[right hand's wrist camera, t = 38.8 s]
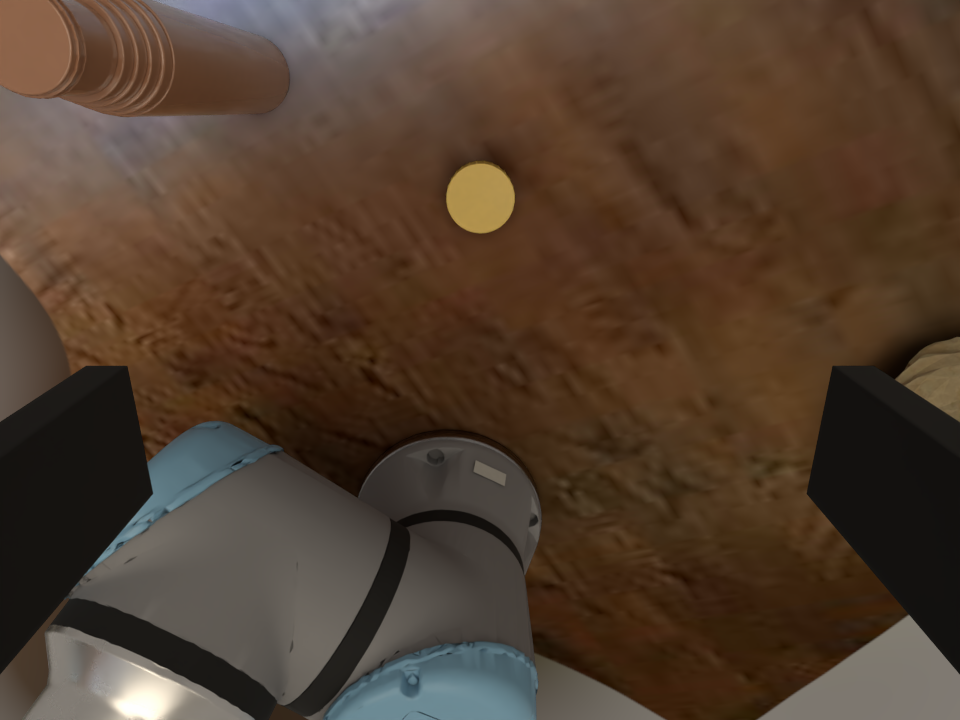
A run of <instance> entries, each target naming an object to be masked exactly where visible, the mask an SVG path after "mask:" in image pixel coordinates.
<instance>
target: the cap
mask: <svg viewBox="0 0 960 720" xmlns="http://www.w3.org/2000/svg"><path fill="white" fill-rule="evenodd" d="M447 187H448V189H447V192H446V203H447V208H448V211H449V213H450V215H451V217H452V218H453V220H454V221H455V222H456V223H457V224H458V225H459V226H460V227H462V228H463V229H465V230H467V231H470V232H473V233H488V232H491V231H494V230H496V229H498V228H499V227H501V226H502V225H503V224H504V223H505V222H506V221H507V220H508V218H509V217H510V215H511V213H512V211H513V207H514V203H515V192H514V189H513V187H514V186H513V184H512V183H511V181H510V177H509V176H507V174H506V173H505V170H502V169H501V168H500V167H499V165H498V166H497V165H495V164H493V163H492V162H487V161H485V160H484V161H477V160H476V161H474V162H469V163H468V164H466V165H464V166H463V165H462V167H461V168H460V169H459V170H458V171H457V170H456V172H455V174H454V176H452V177H451V181H450V183H449V184H448V186H447Z"/></svg>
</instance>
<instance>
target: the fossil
mask: <svg viewBox="0 0 960 720" xmlns="http://www.w3.org/2000/svg"><path fill="white" fill-rule="evenodd" d="M895 380H896V381H898V382H899V383H901V384H902V385H904V386H905V387H907V388H908V389H910V390H912V391H913V392H915V393H916V394H918V395H919V396H921V397H922V398H924V399H925V400H927V401H928V402H930V403H931V404H933V405H934V406H936V407H938V408H939V409H941V410H942V411H944V412H945V413H947V414H948V415H950V416H951V417H953V418H954V419H956V420H957V421H959V422H960V337H955V338H953V339H951V340H946V341H940V342H935V343H933V344H931V345H928V346H926V347H925V348H923V349H922V350H920V351H919V352H918V353H917V354H916V355H915V356H914V357H913V358H912V359H911V360H910V361H909V363H908V364H907V366H906V368H905V370H904V371H903V372H902V373H901V374H900V375H899V376H898V377H897V378H896V379H895Z"/></svg>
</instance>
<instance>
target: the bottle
mask: <svg viewBox="0 0 960 720" xmlns="http://www.w3.org/2000/svg"><path fill="white" fill-rule="evenodd" d="M289 80H290V79H289V69H288V66H287V63H286V60H285V58H284V56H283V55H282V53H281V52H280V50H279V49H278V48H277V47H276V46H275V45H274V44H273V43H272V42H270V41H269V40H268V39H266V38H264V37H262V36H259V35H256V34H253V33H250V32H247V31H244V30H241V29H238V28H235V27H232V26H229V25H226V24H222V23H219V22H216V21H213V20H210V19H207V18H204V17H201V16H198V15H195V14H192V13H189V12H186V11H183V10H180V9H177V8H174V7H171V6H168V5H165V4H162V3H159V2H156V1H153V0H0V85H1V86H3V87H5V88H6V89H9V90H11V91H12V92H15V93H17V94H20V95H23V96H25V97H31V98H39V99H41V98H45V99H49V98H56V97H60V98H62V99H64V100H67V101H70V102H73V103H75V104H78V105H81V106H84V107H86V108H89V109H92V110H95V111H97V112H100V113H104V114H109V115H114V116H119V117H149V116H192V115H234V114H262V113H267V112H269V111H271V110H273V109H275V108H276V107H277V106H279V105H280V103H281V102H282V101H283V100H284V98H285V96H286V94H287V91H288V88H289Z"/></svg>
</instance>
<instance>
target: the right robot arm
mask: <svg viewBox="0 0 960 720" xmlns="http://www.w3.org/2000/svg"><path fill="white" fill-rule="evenodd" d="M807 495H808V496H809V497H810V498H811V499H812V501H813V502H814V503H815V504H816V505H817V507H818V508H819V509H820V510H821V511H822V512H823V514H824V515H825V516H826V517H827V518H828V519H829V521H830V522H831V523H832V524H833V525H834V527H835V528H836V529H837V530H838V531H839V532H840V534H841V535H842V536H843V537H844V538H845V540H846V541H847V542H848V543H849V544H850V545H851V547H852V548H853V549H854V550H855V551H856V552H857V554H858V555H859V556H860V557H861V558H862V560H863V561H864V562H865V563H866V564H867V565H868V567H869V568H870V569H871V570H872V571H873V573H874V574H875V575H876V576H877V577H878V578H879V580H880V581H881V582H882V583H883V584H884V585H885V587H886V588H887V589H888V590H889V591H890V593H891V594H892V595H893V596H894V597H895V598H896V600H897V601H898V602H899V603H900V604H901V606H902V607H903V608H904V609H905V610H906V611H907V613H908V614H909V615H910V616H911V617H912V618H913V620H914V621H915V622H916V623H917V624H918V626H919V627H920V628H921V629H922V630H923V631H924V633H925V634H926V635H927V636H928V637H929V639H930V640H931V641H932V642H933V643H934V644H935V646H936V647H937V648H938V649H939V650H940V651H941V653H942V654H943V655H944V656H945V657H946V659H947V660H948V661H949V662H950V663H951V664H952V666H953V667H954V668H955V669H956V670H957V672H958V673H959V674H960V422H959V421H957V420H956V419H954V418H953V417H951V416H950V415H948V414H947V413H945V412H944V411H942V410H941V409H939V408H938V407H936V406H934V405H933V404H931V403H930V402H928V401H927V400H925V399H924V398H922V397H921V396H919V395H918V394H916V393H915V392H913V391H912V390H910V389H908V388H907V387H905V386H904V385H902V384H901V383H899V382H898V381H896V380H895V379H893V378H892V377H890V376H889V375H887V374H885V373H884V372H882V371H881V370H879V369H878V368H876V367H875V366H833V367H832V372H831V377H830V382H829V387H828V391H827V396H826V401H825V406H824V411H823V416H822V421H821V426H820V431H819V436H818V441H817V445H816V450H815V455H814V460H813V465H812V470H811V475H810V480H809V485H808V490H807ZM540 530H541V508H540V501H539V495H538V491H537V488H536V485H535V483H534V480H533V478H532V476H531V475H530V473H529V471H528V470H527V468H526V467H525V465H524V464H523V463H522V462H521V461H520V460H519V459H518V458H517V457H516V456H515V455H514V454H513V453H512V452H511V451H509V450H508V449H507V448H505V447H504V446H502V445H500V444H499V443H497V442H495V441H493V440H491V439H489V438H486V437H484V436H481V435H477V434H474V433H469V432H464V431H456V430H441V431H432V432H426V433H422V434H418V435H415V436H412V437H409V438H407V439H405V440H403V441H401V442H399V443H397V444H396V445H394V446H392V447H391V448H390V449H388V450H387V451H386V452H385V453H383V454H382V455H381V456H380V457H379V458H378V459H377V460H376V462H375V463H374V464H373V465H372V467H371V468H370V470H369V471H368V473H367V475H366V477H365V479H364V481H363V484H362V487H361V490H360V493H359V497H358V498H357V497H355V496H354V495H352V494H350V493H349V492H347V491H346V490H344V489H342V488H341V487H339V486H338V485H336V484H334V483H333V482H331V481H330V480H328V479H326V478H325V477H323V476H322V475H320V474H318V473H317V472H315V471H313V470H312V469H310V468H309V467H307V466H305V465H304V464H302V463H301V462H299V461H297V460H296V459H294V458H293V457H291V456H289V455H288V454H286V453H285V452H284V449H283V448H282V447H280V446H278V445H269V444H267V443H265V442H263V441H262V440H260V439H258V438H256V437H254V436H252V435H251V434H249V433H247V432H245V431H243V430H241V429H240V428H238V427H236V426H234V425H232V424H230V423H226V422H222V421H209V422H205V423H201V424H199V425H196V426H194V427H192V428H190V429H189V430H187V431H185V432H184V433H182V434H181V435H180V436H178V437H177V438H176V439H174V440H173V441H172V442H170V443H169V444H168V445H167V446H166V447H164V448H163V449H162V450H161V451H160V452H159V453H158V454H156V455H155V456H154V457H153V458H152V459H151V460H150V461H149V462H148V463H147V460H146V455H145V450H144V445H143V441H142V436H141V431H140V426H139V421H138V416H137V411H136V406H135V401H134V396H133V391H132V387H131V382H130V377H129V372H128V367H127V366H85V367H84V368H82V369H81V370H79V371H78V372H76V373H75V374H73V375H71V376H70V377H68V378H67V379H65V380H64V381H62V382H61V383H59V384H58V385H56V386H55V387H53V388H52V389H50V390H49V391H47V392H45V393H44V394H42V395H41V396H39V397H38V398H36V399H35V400H33V401H32V402H30V403H29V404H27V405H26V406H24V407H22V408H21V409H20V410H18V411H16V412H15V413H13V414H12V415H10V416H9V417H7V418H6V419H4V420H3V421H1V422H0V674H1V673H2V672H3V670H4V669H5V668H6V667H7V666H8V664H9V663H10V662H11V661H12V660H13V659H14V657H15V656H16V655H17V654H18V653H19V651H20V650H21V649H22V648H23V647H24V646H25V644H26V643H27V642H28V641H29V640H30V639H31V637H32V636H33V635H34V634H35V633H36V631H37V630H38V629H39V628H40V627H41V626H42V624H43V623H44V622H45V621H46V620H47V618H48V617H49V616H50V615H51V614H52V613H53V611H54V610H55V609H56V608H57V607H58V606H59V604H60V603H61V602H62V601H63V600H64V599H66V598H70V599H69V601H68V602H67V604H66V605H65V606H64V608H63V609H62V610H61V611H60V613H59V614H58V615H57V617H56V618H55V619H54V621H53V622H52V623H51V625H50V626H49V627H48V629H47V630H46V632H45V640H46V648H47V656H48V665H49V676H48V682H47V686H46V687H45V688H44V690H43V691H42V693H41V694H40V695H39V697H38V698H37V699H36V701H35V702H34V704H33V705H32V706H31V708H30V709H29V710H28V712H27V713H26V715H25V716H24V718H23V719H22V720H269V718H270V716H271V714H272V712H273V710H274V708H275V706H276V704H277V703H278V704H280V705H281V706H284V707H286V708H288V709H290V710H292V711H294V712H296V713H298V714H299V715H301V716H303V717H305V718H307V719H309V720H536V693H537V689H538V679H537V672H536V666H535V658H534V650H533V642H532V633H531V625H530V617H529V608H528V600H527V592H526V584H525V574H526V571H527V569H528V567H529V564H530V562H531V559H532V557H533V554H534V552H535V549H536V547H537V544H538V540H539V535H540Z"/></svg>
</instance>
